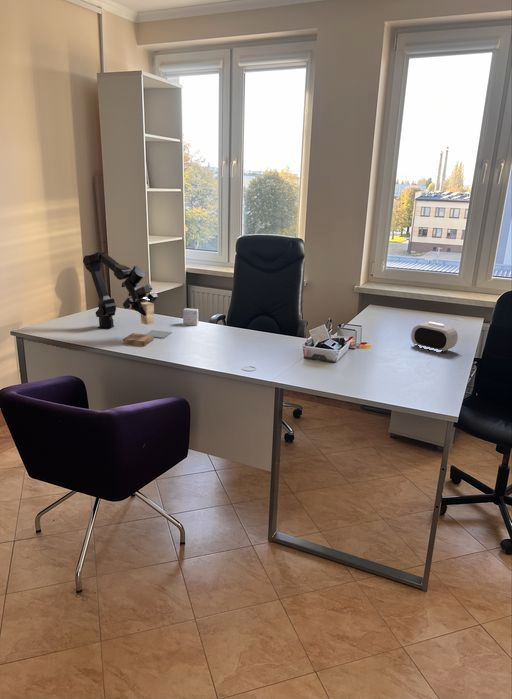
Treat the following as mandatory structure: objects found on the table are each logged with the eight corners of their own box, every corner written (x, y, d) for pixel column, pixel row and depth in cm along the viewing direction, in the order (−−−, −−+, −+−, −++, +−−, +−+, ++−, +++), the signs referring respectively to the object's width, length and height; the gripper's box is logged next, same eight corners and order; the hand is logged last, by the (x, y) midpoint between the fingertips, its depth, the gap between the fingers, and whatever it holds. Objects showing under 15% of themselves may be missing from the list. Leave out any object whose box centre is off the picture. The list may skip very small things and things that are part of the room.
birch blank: (141, 323, 249) (140, 303, 246) (147, 321, 252) (147, 301, 249) (147, 324, 246) (146, 304, 243) (154, 323, 250) (153, 303, 247)
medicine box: (198, 323, 285) (198, 309, 282) (196, 325, 280) (196, 310, 278) (184, 323, 285) (184, 308, 283) (182, 324, 281) (182, 309, 278)
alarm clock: (408, 346, 261) (412, 321, 257) (417, 342, 268) (420, 318, 264) (447, 355, 248) (452, 329, 244) (455, 351, 255) (459, 326, 251)
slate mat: (143, 336, 256) (143, 335, 256) (152, 331, 266) (152, 330, 266) (164, 338, 254) (164, 337, 254) (171, 333, 264) (171, 332, 264)
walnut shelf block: (123, 344, 243) (122, 339, 242) (132, 337, 253) (132, 333, 252) (144, 346, 241) (144, 341, 240) (153, 340, 251) (153, 335, 250)
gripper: (126, 281, 238) (142, 308, 235) (155, 277, 252) (171, 302, 250) (115, 295, 244) (131, 321, 242) (144, 290, 259) (160, 315, 256)
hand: (149, 314), depth 247 cm, fingers closed on birch blank, 4 cm apart
